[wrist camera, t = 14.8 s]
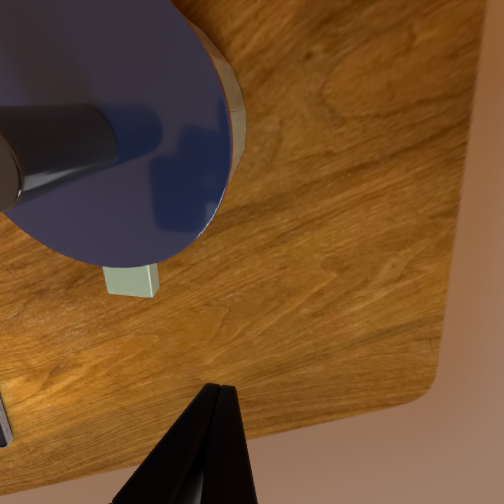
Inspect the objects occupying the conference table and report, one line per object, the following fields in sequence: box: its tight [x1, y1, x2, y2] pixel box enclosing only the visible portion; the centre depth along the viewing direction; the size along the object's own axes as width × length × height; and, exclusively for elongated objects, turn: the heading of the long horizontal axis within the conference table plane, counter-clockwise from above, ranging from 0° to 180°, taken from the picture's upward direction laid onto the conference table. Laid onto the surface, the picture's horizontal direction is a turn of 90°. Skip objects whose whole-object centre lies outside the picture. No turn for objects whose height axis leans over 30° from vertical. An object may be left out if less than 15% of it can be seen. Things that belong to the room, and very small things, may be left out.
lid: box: [0, 0, 233, 268], centre depth 10 cm, size 11×11×6 cm
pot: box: [102, 19, 246, 298], centre depth 14 cm, size 10×15×6 cm, turn 178°
